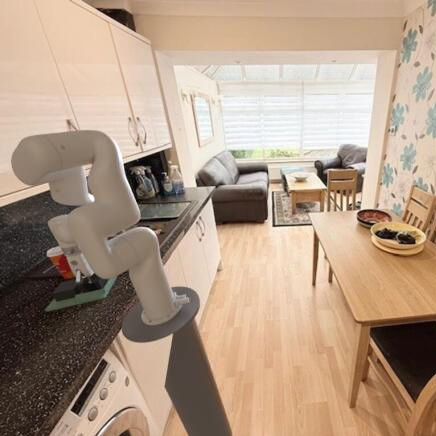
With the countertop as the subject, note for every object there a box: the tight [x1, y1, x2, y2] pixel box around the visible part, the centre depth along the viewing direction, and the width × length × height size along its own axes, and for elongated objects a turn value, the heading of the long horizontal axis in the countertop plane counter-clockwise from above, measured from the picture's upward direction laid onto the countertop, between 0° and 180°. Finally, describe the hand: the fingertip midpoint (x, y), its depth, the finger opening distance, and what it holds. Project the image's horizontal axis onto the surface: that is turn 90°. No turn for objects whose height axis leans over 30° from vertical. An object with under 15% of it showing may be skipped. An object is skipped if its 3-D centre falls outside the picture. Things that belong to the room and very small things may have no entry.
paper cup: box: [46, 245, 76, 280], centre depth 104 cm, size 8×8×14 cm
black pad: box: [79, 274, 108, 293], centre depth 95 cm, size 6×6×4 cm
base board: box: [44, 276, 118, 313], centre depth 95 cm, size 19×14×5 cm
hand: (95, 284), depth 96 cm, fingers closed on black pad, 6 cm apart
